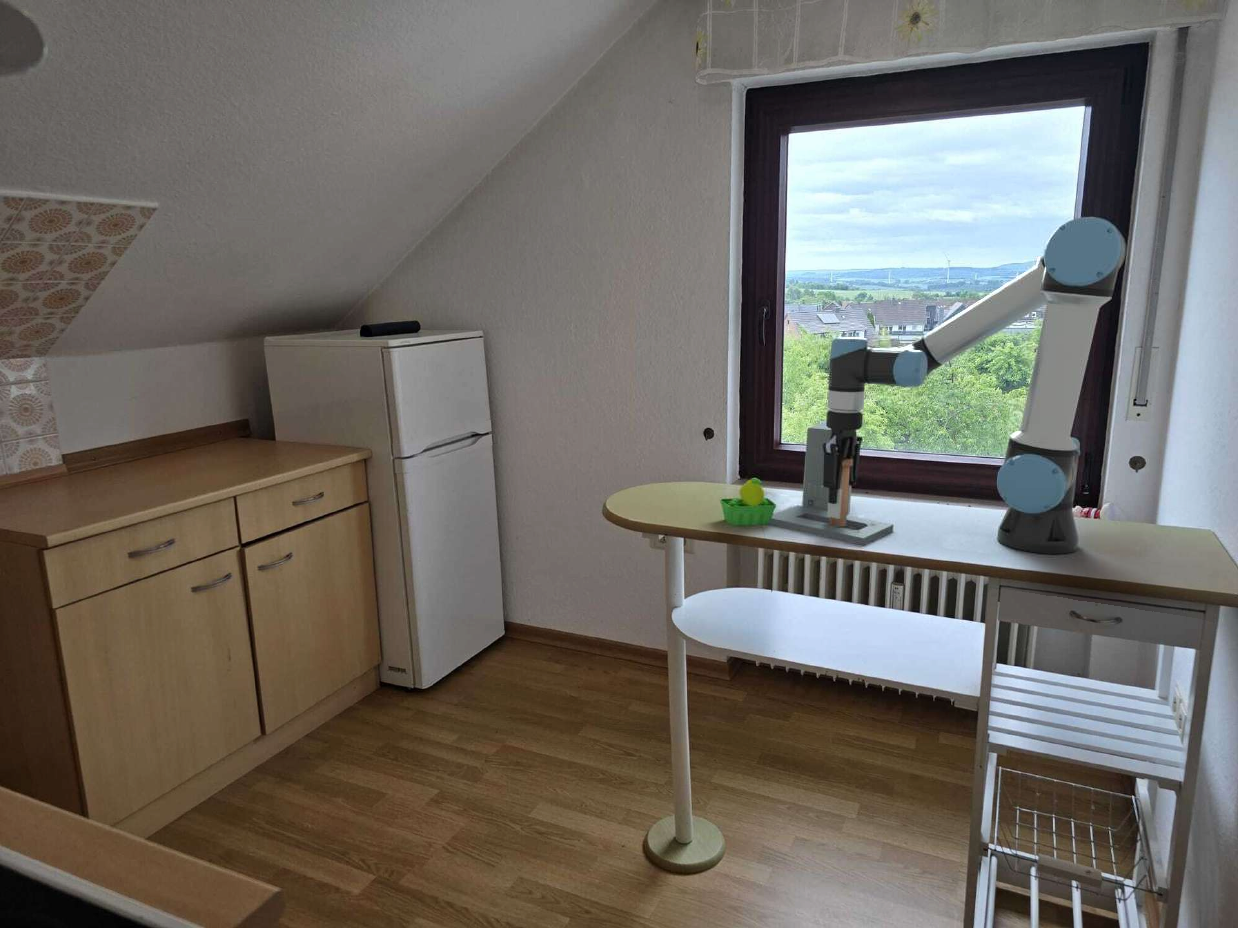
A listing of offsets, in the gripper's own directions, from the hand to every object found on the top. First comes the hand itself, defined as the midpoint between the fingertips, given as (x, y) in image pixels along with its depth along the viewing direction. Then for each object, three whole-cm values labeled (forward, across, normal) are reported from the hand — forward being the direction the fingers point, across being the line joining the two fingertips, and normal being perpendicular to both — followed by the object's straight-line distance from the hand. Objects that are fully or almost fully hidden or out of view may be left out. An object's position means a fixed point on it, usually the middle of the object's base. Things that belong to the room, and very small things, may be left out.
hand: (838, 515), depth 185 cm
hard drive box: (+3, -18, -13) cm, 22 cm away
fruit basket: (+4, +9, -18) cm, 20 cm away
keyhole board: (+3, 0, -2) cm, 4 cm away
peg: (+2, 0, 0) cm, 2 cm away
